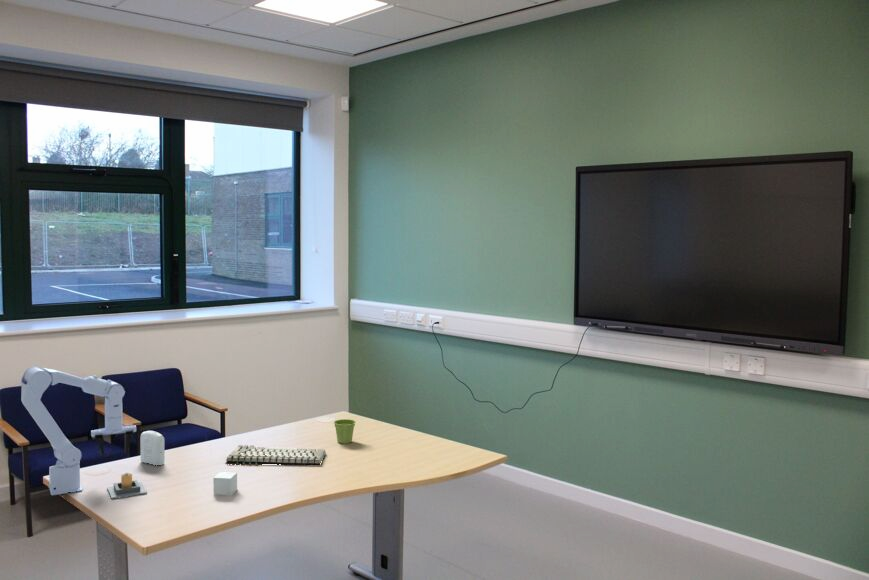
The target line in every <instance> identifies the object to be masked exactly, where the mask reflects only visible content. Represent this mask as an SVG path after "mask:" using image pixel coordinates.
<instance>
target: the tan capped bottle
mask: <svg viewBox="0 0 869 580" xmlns="http://www.w3.org/2000/svg"><path fill="white" fill-rule="evenodd" d="M120 478H121V481H120V482H121V488H129V487H132V481H133V474H132V473H129V472H125V473H123V474H121V477H120Z"/></svg>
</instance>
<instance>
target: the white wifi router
mask: <svg viewBox="0 0 869 580" xmlns="http://www.w3.org/2000/svg"><path fill="white" fill-rule="evenodd" d="M139 443H140V444H139V445H140V448H139V449H140V462H142V463H145V464H147V463H149V464H148V465H151V464H153V465H152V466H155V465H156V466H155V467H158V466H157V465H161V466H163V465H164V464H165V437H164V436H163V434H161V433H160V432H157V431H154V430H146V431H143V432H141V434H140V442H139ZM162 464H163V465H162Z"/></svg>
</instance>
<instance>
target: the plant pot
mask: <svg viewBox="0 0 869 580" xmlns="http://www.w3.org/2000/svg"><path fill="white" fill-rule="evenodd" d="M356 423H357V421H356V420H354V419H351V418H350V419H349V418H348V419H347V418H346V419H342V418H341V419H337V420H334V421H333V425H334V428H335V431H336V432H335V434H336V439H337V440H336V441H337V443H338V444H343V445H345V444H350V443H352V442H353V435H354V428H355V425H356Z"/></svg>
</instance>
